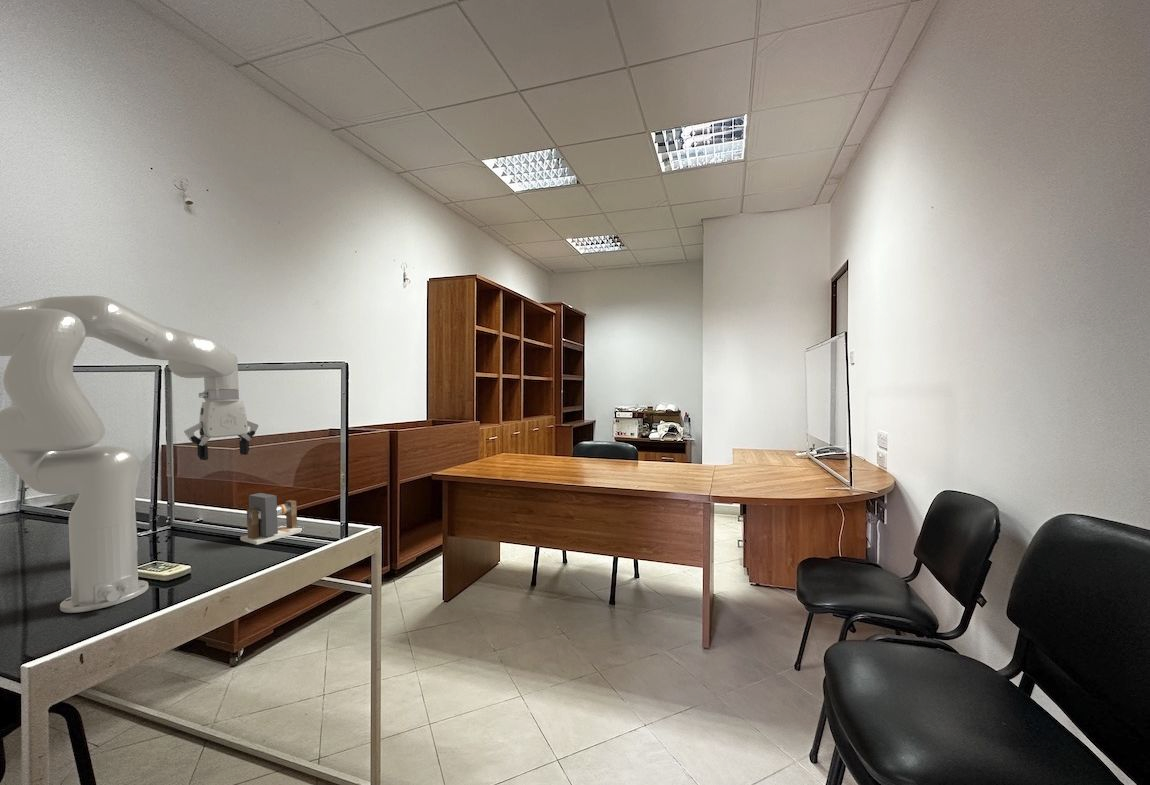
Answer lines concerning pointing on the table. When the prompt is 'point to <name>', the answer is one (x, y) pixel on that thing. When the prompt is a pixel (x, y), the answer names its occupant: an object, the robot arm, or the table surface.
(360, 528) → the table surface
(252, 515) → the pipe stand
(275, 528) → the upright gray rectangular block
